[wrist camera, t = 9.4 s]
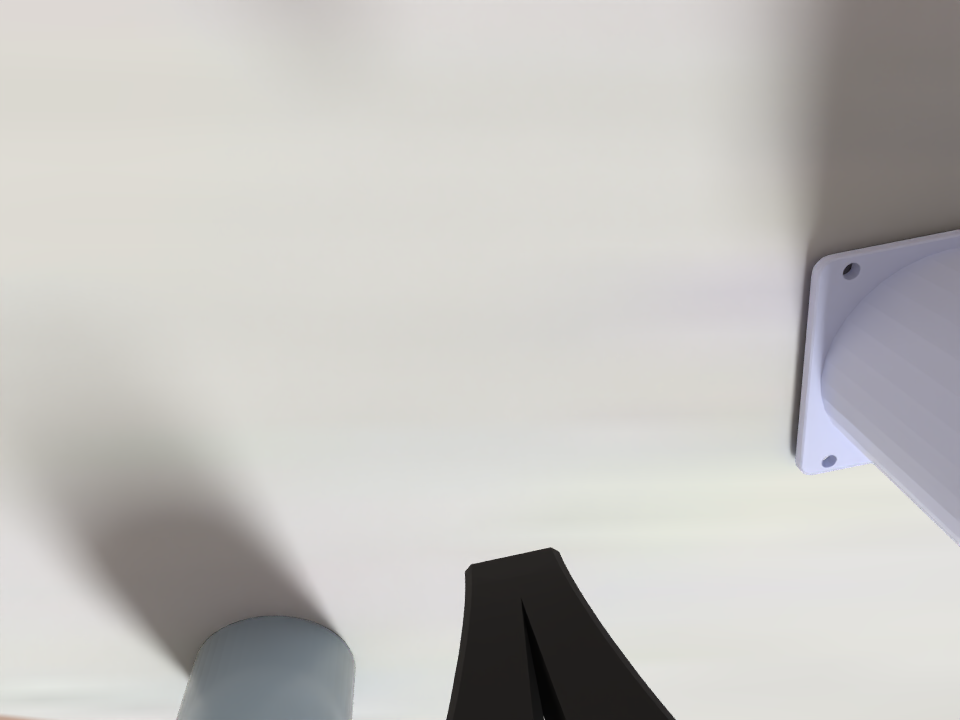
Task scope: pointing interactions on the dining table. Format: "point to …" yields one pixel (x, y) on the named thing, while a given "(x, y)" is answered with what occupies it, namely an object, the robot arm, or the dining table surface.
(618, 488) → the dining table surface
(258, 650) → the rounded blue cylinder
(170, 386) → the dining table surface
